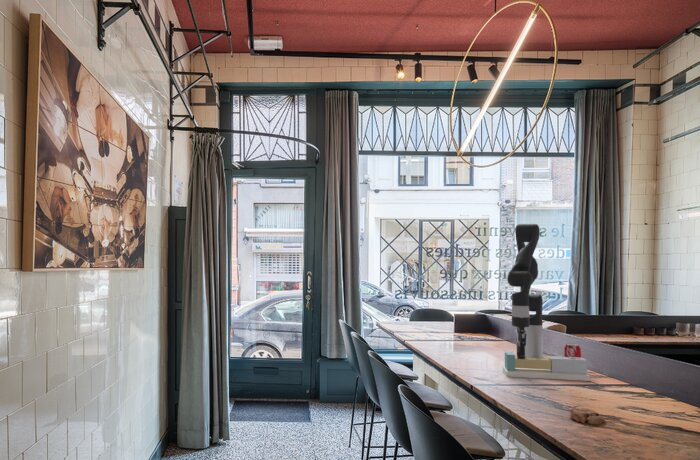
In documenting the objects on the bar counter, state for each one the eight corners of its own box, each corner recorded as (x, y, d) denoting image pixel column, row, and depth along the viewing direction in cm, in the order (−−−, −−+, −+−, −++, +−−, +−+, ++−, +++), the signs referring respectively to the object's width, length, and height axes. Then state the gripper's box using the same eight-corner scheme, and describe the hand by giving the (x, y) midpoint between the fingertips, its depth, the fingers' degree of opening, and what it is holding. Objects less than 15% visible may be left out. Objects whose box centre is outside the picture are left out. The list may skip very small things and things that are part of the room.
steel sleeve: (548, 369, 210) (548, 356, 210) (582, 371, 207) (582, 357, 208) (552, 372, 204) (551, 358, 204) (587, 374, 201) (586, 360, 202)
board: (502, 370, 216) (502, 365, 216) (581, 374, 210) (581, 369, 210) (506, 376, 204) (506, 371, 205) (590, 380, 198) (590, 376, 198)
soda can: (584, 372, 215) (583, 345, 215) (568, 372, 215) (568, 345, 216) (577, 368, 222) (576, 343, 223) (562, 368, 222) (561, 342, 223)
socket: (504, 366, 214) (504, 351, 215) (512, 367, 214) (512, 351, 214) (507, 370, 206) (507, 354, 207) (515, 371, 206) (515, 355, 206)
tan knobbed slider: (508, 365, 212) (508, 343, 213) (556, 368, 208) (556, 345, 209) (510, 367, 208) (509, 344, 209) (559, 370, 205) (558, 346, 205)
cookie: (592, 414, 154) (592, 405, 154) (611, 426, 143) (610, 415, 144) (562, 414, 154) (562, 405, 154) (579, 425, 143) (579, 415, 143)
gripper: (509, 313, 219) (509, 351, 217) (514, 317, 205) (514, 357, 203) (526, 314, 217) (526, 352, 216) (532, 317, 203) (533, 358, 202)
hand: (520, 354), depth 210 cm, fingers closed on tan knobbed slider, 3 cm apart
